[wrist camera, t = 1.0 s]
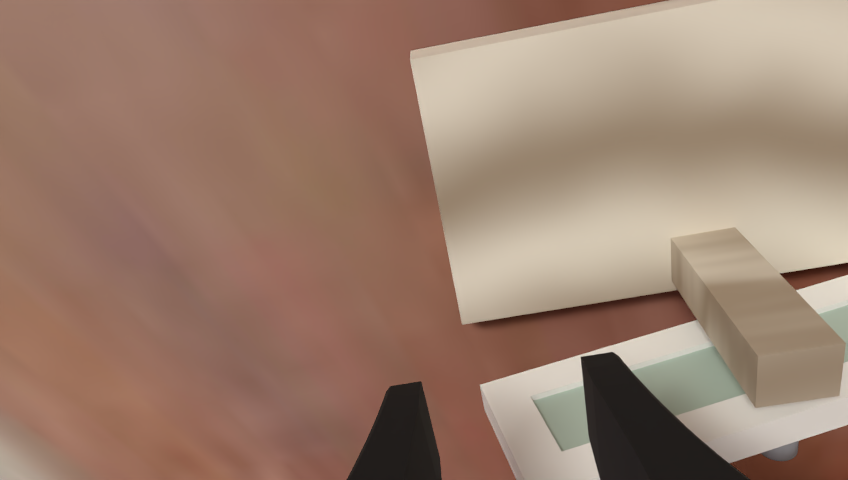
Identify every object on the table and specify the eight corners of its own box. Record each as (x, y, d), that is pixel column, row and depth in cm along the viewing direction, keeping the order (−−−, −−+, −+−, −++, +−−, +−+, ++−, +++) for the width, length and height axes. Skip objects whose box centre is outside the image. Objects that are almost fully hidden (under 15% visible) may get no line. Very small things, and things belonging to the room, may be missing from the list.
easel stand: (931, 228, 22) (1141, 364, 16) (460, 305, 24) (476, 460, 17) (983, -61, 18) (1294, -37, 12) (410, 50, 20) (406, 128, 13)
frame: (883, 303, 22) (1018, 384, 18) (487, 424, 21) (539, 541, 17) (890, 262, 22) (1031, 337, 18) (480, 384, 20) (533, 497, 16)
